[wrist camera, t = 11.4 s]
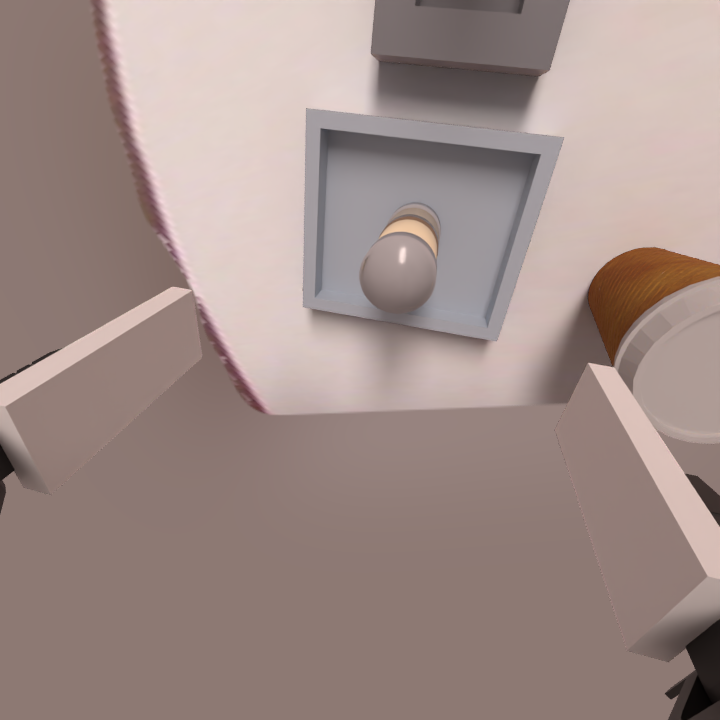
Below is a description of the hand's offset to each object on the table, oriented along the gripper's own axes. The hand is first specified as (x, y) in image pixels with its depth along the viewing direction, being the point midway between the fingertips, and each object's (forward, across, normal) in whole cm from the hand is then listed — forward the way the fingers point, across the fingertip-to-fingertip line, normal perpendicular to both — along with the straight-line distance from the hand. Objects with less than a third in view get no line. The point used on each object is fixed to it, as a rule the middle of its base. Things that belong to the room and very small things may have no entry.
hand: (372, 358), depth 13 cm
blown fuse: (+19, 0, 0) cm, 19 cm away
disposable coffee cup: (+20, -17, +2) cm, 26 cm away
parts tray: (+20, 0, 0) cm, 20 cm away
